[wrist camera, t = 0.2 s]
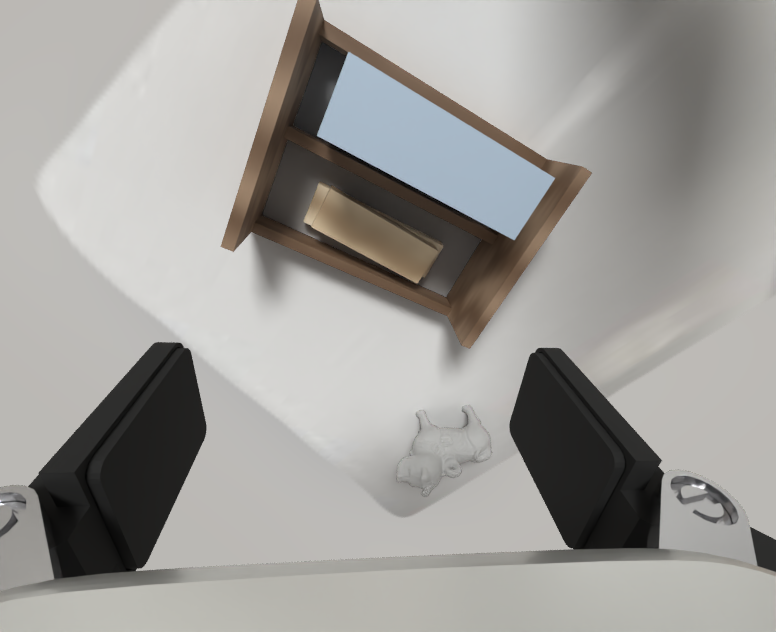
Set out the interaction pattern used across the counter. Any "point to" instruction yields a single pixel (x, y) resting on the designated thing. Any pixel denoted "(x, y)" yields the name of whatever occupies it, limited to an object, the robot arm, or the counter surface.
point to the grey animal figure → (443, 451)
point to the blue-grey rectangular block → (431, 149)
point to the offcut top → (373, 235)
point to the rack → (390, 185)
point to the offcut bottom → (324, 189)
